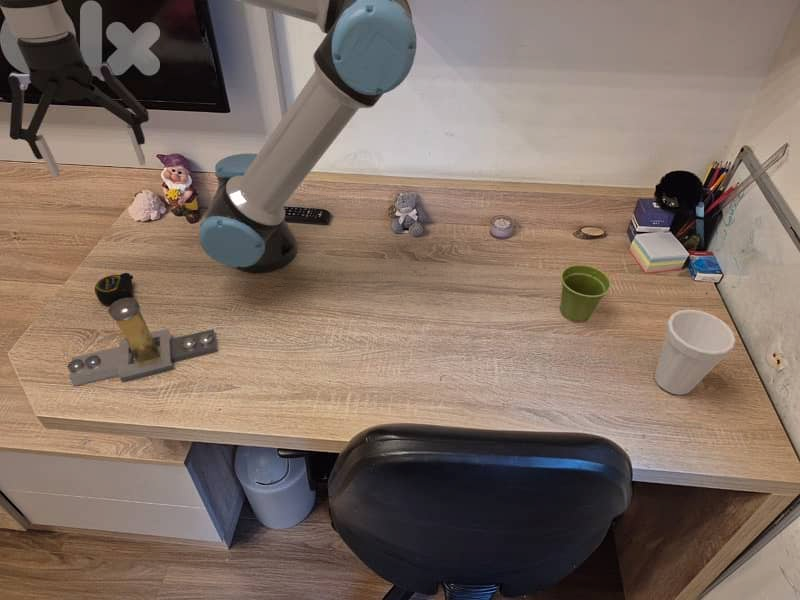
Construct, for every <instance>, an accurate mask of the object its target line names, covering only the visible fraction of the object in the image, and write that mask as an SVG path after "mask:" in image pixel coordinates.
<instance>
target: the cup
mask: <svg viewBox="0 0 800 600" xmlns="http://www.w3.org/2000/svg"><path fill="white" fill-rule="evenodd" d="M735 344H736V337H735V334H734V331H733V330H732V329H731V328H730V326H729V325H728V324H727V323H726V322H725V321H723V320H721V319H720V318H719V317H717V316H715V315H713V314H710V313H708V312H705V311H703V310H698V309H697V310H696V309H683V310H682V309H681V310H677V311H676V312H674V313H673V314H671V315H670V317H669V319H668V321H667V324H666V328H665V338H664V341H663V345H662V348H661V351H660V355H659V359H658V363H657V367H656V369H655V373H654V379H655V382H656V384H657V385H658V386H659V387H660V388H661V389H662V390H664V391H665V392H668V393H670V394H673V395H678V396H681V395H687V394H689V393H690V392H691V391H692V390H693V389H694V388H695V387H697V385H698V384H699V383H700V382H701V381H702V380H703V379H704V378H705V377H707V375H708V374H709V373H710V372H711V371H712V370H713V369H714V368H715V367H716V366H717V365H718V364H719V363H720V362H721V360H722V359H724V358H725V357H726V356H728V354H730V352H731V351H733V349H734V347H735Z"/></svg>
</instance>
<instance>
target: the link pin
mask: <svg viewBox="0 0 800 600" xmlns="http://www.w3.org/2000/svg"><path fill="white" fill-rule="evenodd" d="M140 307H141V306H140V303H139V302H138V299H136V298H133V297H132V298H122V299H119V300H117V301H115V302H114V303H112V304H111V305H109V307H108V308H107V309H108V311H107V313H109V315H110V318H111V319H113V321H115V323H116V325H117V327H118V329H119V331H120V333H121V334H122V336H123V339H125V340H126V342H127V343H128V345H129V347H130V349H131V351H132V353H133V358H134V359H135V360H136V363H138V362H142V361H146V360H151V359H155V358H159V357H161V355H160V349H159V348H158V346H156V344H155V342H154V340H153V338H152V335H151V332H150V329H149V328H148V325H147V323H146V321H145V319H144V317H143V315H142V313H141V311H140V309H141V308H140Z"/></svg>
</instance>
